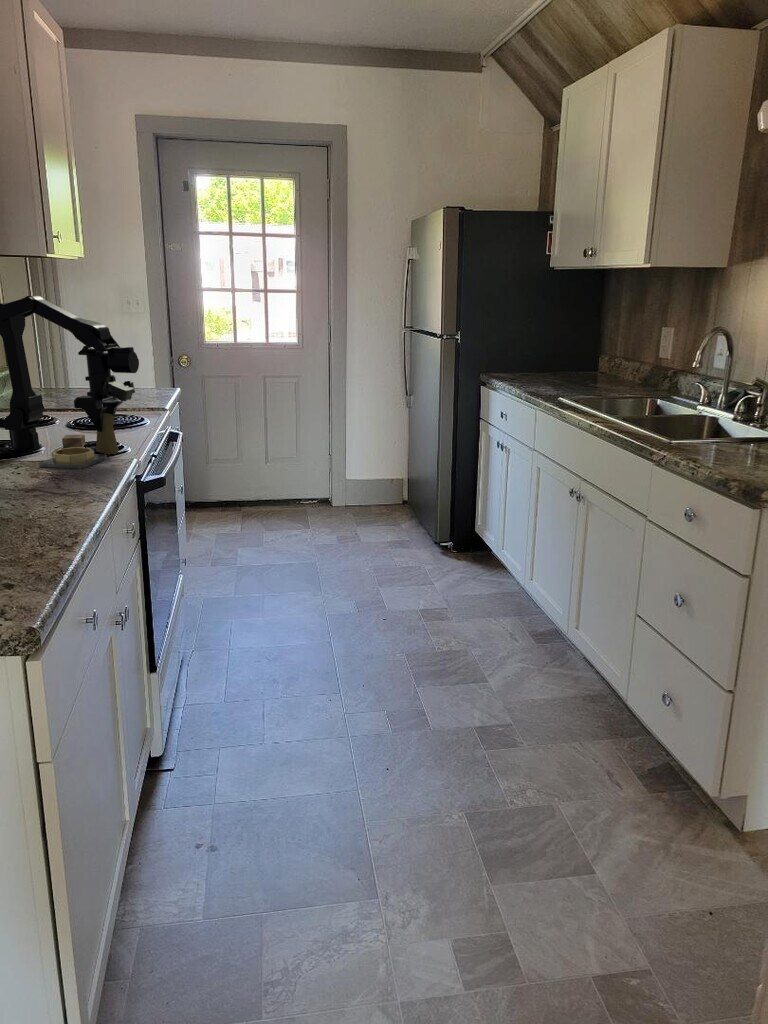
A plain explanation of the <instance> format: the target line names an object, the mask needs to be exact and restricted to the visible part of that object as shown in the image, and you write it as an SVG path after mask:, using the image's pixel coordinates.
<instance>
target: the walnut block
mask: <svg viewBox="0 0 768 1024" xmlns="http://www.w3.org/2000/svg"><path fill="white" fill-rule="evenodd" d="M61 441H62V449H63V448H71V447H83V446H84V445H85V444H86V437H85V434H82V433H81V434H64V436H63V437H62V439H61Z"/></svg>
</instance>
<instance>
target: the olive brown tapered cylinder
mask: <svg viewBox="0 0 768 1024" xmlns="http://www.w3.org/2000/svg"><path fill="white" fill-rule="evenodd" d="M114 423H115V417H113V415H112V414H109V413H103V429H102V432H98V431H97V430H96V443H95V444H96V445H95V446H96V447H95V448H96V449H95V452H96V451H98V452H100V453H104V454H114V453H117V452H118V451H119V446H118V443H117V437H116V432H115V430H114ZM119 452H120V451H119ZM114 455H115V454H114Z"/></svg>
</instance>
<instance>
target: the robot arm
mask: <svg viewBox="0 0 768 1024" xmlns="http://www.w3.org/2000/svg"><path fill="white" fill-rule="evenodd" d="M34 314H35V315H37V316H39V317H42V318H43V319H45V320H48V321H49V322H51V323H53V324H55V325H56V326H59V327H61V328H62V329H64V330H66V331H68V332H70V333H71V334H72V335H73V337H74V338H75V339H76V340H77V341H79V342H80V343H81V344H83V347H82V349H80V351H78V352H77V354H78V356H85V357H86V365H87V376H85V377H84V378H85V379H84V380H85V382H86V381H88V383H89V391H87V392H86V395H81V396H77V397H76V398H75V399H74V400H73V408H75V409H81V410H82V411H84V412H85V414H86V415H87V416H88V418H89V419H90V421H91V422H92V425H93V426H94V427H95V429H96V432H97V431H98V432H102V429H103V413H109V414H112V415H113V417H114V418H115V417H116V413H117V409H118V408H119V407H120V406H121V405H122V404H123V403H124V402H127V401H128V400H129V401H131V400H132V396H133V394H135V393H136V390H135V385H134V381H132V380H125V381H124V382H122V381H121V382H119V381H117V380H116V376H115V375H113V374H112V373H114V374H116V373H118V374H137V372H138V370H139V368H140V367H139V366H140V359H139V358H138V354H137V353H136V352H135V349H134V347H133V346H128V347H127V346H126V347H121V346H120V345H119V344H118V342H117V341H116V340H115V339H114V337H113V335H112V334H111V332H110V328H109V327H108V326H107V325H106V324H104V323H102V322H101V323H100V322H98V321H94V320H90V319H87V318H86V319H85V318H82V317H79V316H77V315H75V314H73V313H71V312H69V311H67V310H65V309H64V308H62V307H60V306H58V305H55V304H54V303H52V302H49V300H46V299H44V298H43V297H42V296H40V295H26V296H25V297H23V298H19V299H17V300H13V301H10V302H1V303H0V337H1V339H2V342H3V349H4V353H5V358H6V364H7V369H8V372H9V373H8V374H9V377H10V384H11V388H12V394H11V397H10V400H9V414H8V415H7V416H6V418H5V419H4V420H3V421H2V426H3V427H4V430H6V431H8V433H9V439H10V448H11V447H12V448H14V449H16V450H25V451H24V452H31V451H34V450H37V449H39V448H41V447H42V445H41V444H40V441H39V433H38V432H37V427H36V426H39V423H40V419H41V418H42V416H43V415H44V410H45V406H44V404H43V403H44V402H43V396H42V394H36V392H35V391H34V390H33V387H32V381H31V378H30V377H31V376H30V371H29V365H28V361H27V355H26V350H25V344H24V340H23V339H24V338H23V335H24V332H25V327H26V318H28V317H31V316H32V315H34ZM111 371H112V373H111Z"/></svg>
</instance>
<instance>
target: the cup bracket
mask: <svg viewBox="0 0 768 1024" xmlns="http://www.w3.org/2000/svg"><path fill="white" fill-rule="evenodd" d="M106 458H107V459H108V455H103V454H96V453H95V451H94V449H92V448H91V447H86V448H85V447H72V448H63V447H62V448H58V449H55V450H53V451H51V458H48V459H45V460H43V461H40V462H39V463H38V464H39V467H40V468H57V469H58V468H59V469H60V468H61V469H75V468H79V469H80V470H84V469H87V468H88V466H89V467H91V466H93V465H95V464H98V463H100V462H102V461H104V460H107V459H106ZM101 460H102V461H101ZM99 461H100V462H99ZM97 462H98V463H97ZM90 465H91V466H90Z"/></svg>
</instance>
